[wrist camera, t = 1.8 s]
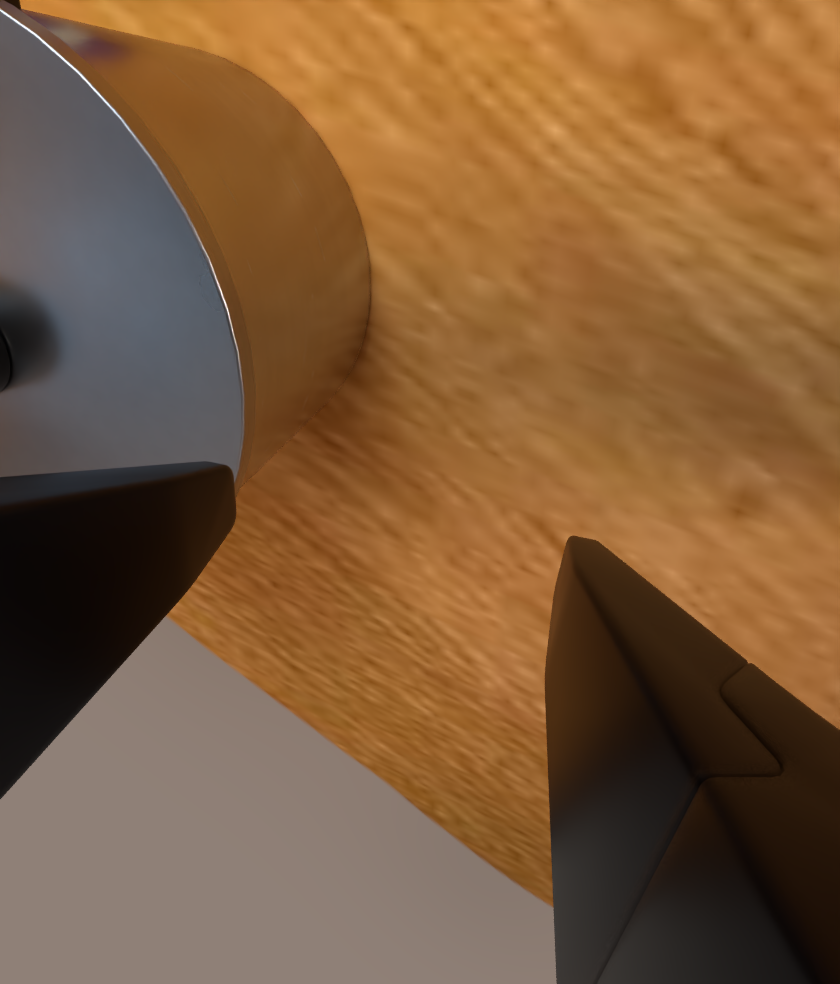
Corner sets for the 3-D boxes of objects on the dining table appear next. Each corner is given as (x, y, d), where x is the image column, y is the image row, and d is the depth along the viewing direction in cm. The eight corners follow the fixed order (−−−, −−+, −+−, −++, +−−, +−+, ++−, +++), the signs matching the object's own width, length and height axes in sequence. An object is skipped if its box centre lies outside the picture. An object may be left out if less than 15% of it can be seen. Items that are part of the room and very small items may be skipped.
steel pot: (395, 2, 17) (139, -175, 7) (369, 495, 25) (231, 713, 15) (-29, -28, 19) (-646, -193, 10) (73, 435, 27) (-205, 593, 18)
